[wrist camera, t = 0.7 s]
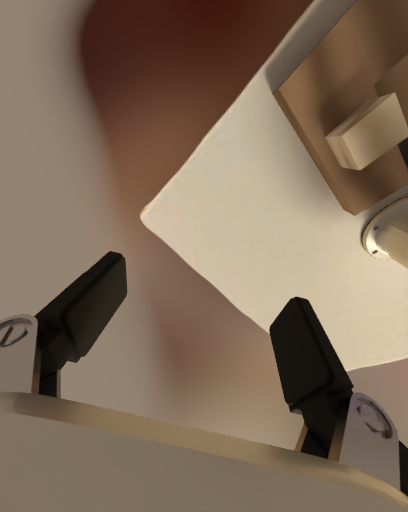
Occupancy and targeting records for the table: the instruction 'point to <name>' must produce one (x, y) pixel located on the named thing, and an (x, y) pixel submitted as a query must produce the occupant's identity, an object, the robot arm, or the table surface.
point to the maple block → (368, 132)
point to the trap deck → (352, 96)
